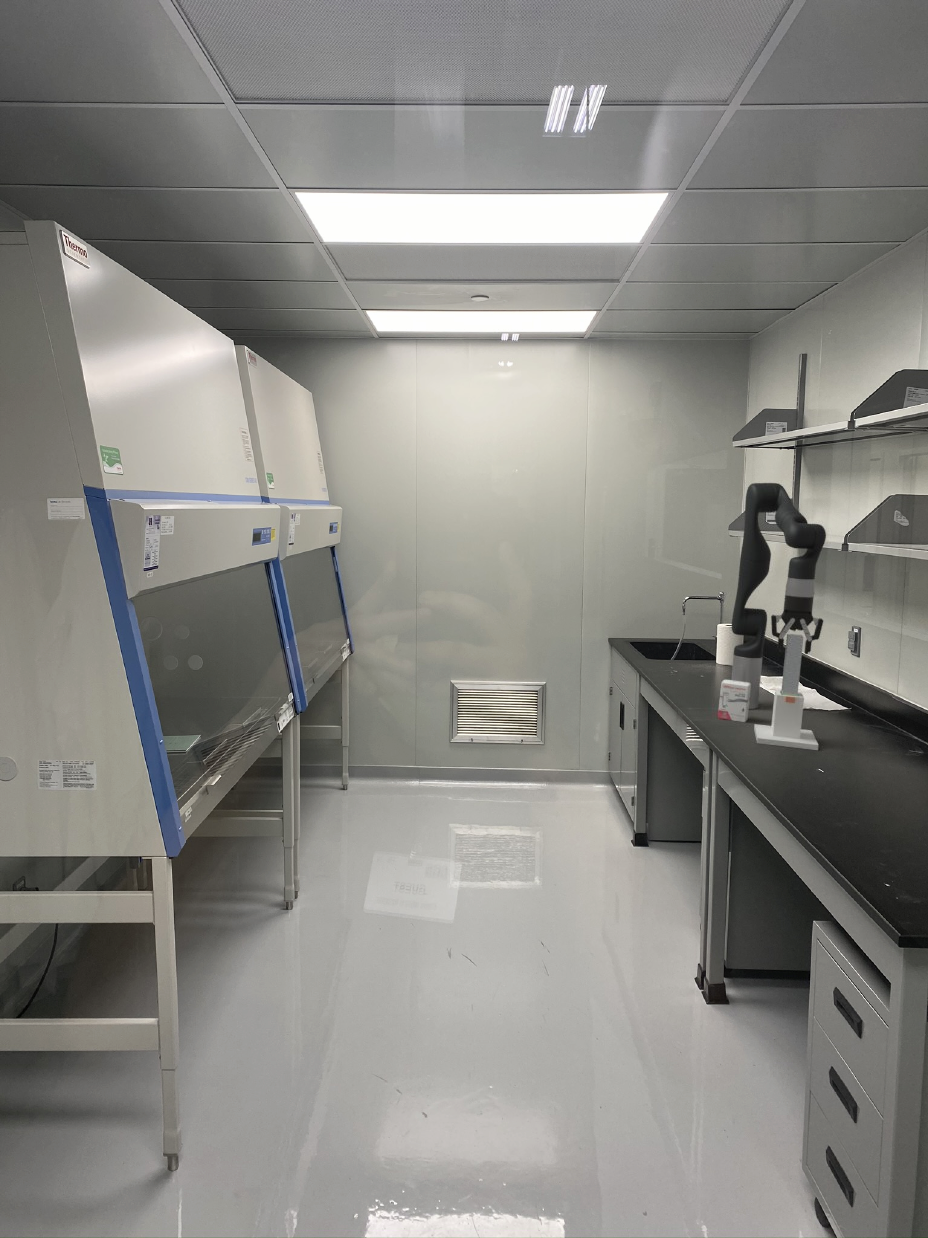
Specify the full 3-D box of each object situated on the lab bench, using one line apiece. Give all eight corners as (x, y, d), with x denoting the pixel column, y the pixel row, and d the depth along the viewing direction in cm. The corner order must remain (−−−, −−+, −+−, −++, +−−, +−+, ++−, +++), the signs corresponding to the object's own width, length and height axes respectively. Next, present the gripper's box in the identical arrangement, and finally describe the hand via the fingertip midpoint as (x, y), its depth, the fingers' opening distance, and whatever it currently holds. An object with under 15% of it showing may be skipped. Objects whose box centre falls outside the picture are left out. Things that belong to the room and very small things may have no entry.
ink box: (716, 718, 256) (720, 681, 255) (719, 715, 261) (723, 679, 259) (745, 722, 252) (748, 685, 251) (747, 719, 257) (751, 682, 255)
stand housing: (754, 729, 245) (758, 685, 243) (811, 735, 241) (815, 691, 239) (757, 743, 230) (761, 696, 228) (817, 750, 226) (823, 703, 224)
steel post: (779, 708, 237) (786, 633, 234) (794, 709, 236) (802, 635, 232) (780, 711, 233) (788, 635, 230) (796, 713, 232) (803, 637, 228)
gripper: (825, 595, 231) (818, 653, 233) (771, 591, 235) (765, 648, 237) (828, 597, 224) (822, 657, 226) (773, 593, 228) (767, 652, 230)
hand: (793, 652), depth 232 cm, fingers open, 6 cm apart
